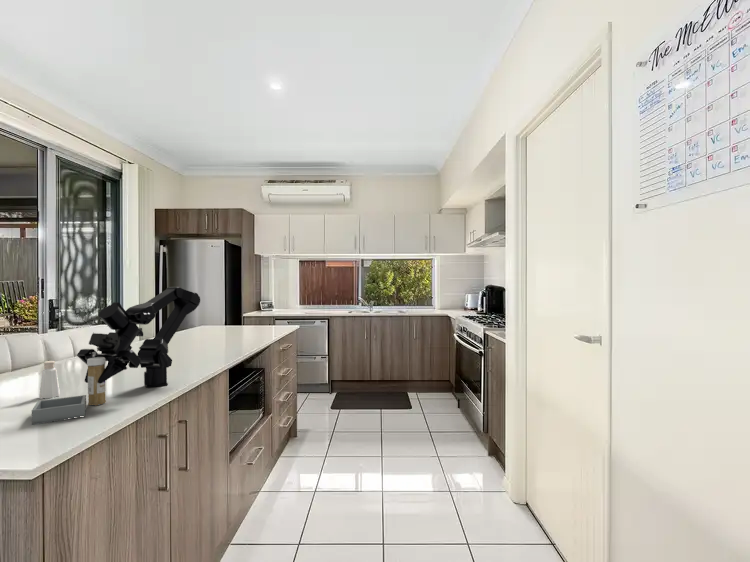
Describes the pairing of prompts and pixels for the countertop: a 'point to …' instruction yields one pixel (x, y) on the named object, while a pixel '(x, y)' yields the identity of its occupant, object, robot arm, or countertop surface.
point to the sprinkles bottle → (96, 381)
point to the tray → (58, 409)
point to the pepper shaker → (49, 381)
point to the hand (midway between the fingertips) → (92, 382)
